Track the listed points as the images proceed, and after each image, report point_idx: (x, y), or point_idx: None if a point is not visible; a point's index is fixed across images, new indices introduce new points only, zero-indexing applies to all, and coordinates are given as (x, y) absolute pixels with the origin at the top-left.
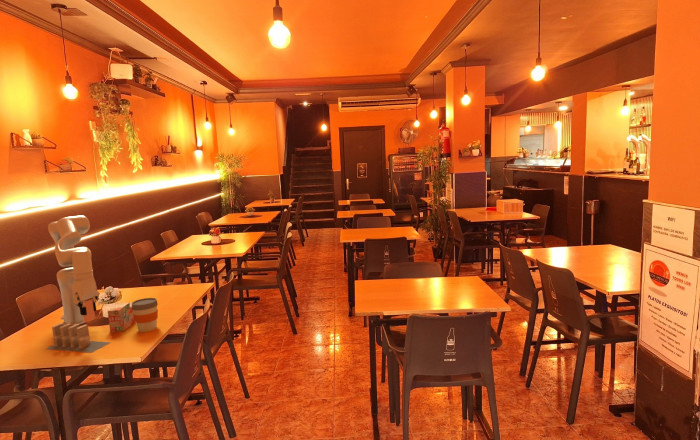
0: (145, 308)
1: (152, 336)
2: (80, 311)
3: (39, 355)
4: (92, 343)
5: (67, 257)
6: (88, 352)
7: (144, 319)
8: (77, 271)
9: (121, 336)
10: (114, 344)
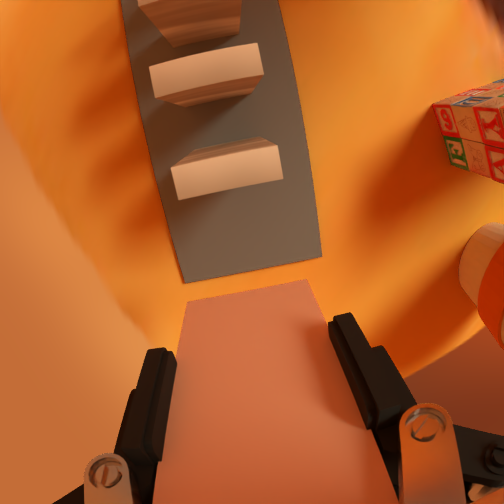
0: None
1: (414, 353)
2: (127, 413)
3: (61, 31)
4: None
5: None
6: (179, 263)
7: (488, 327)
8: None
9: (405, 222)
10: (312, 285)
